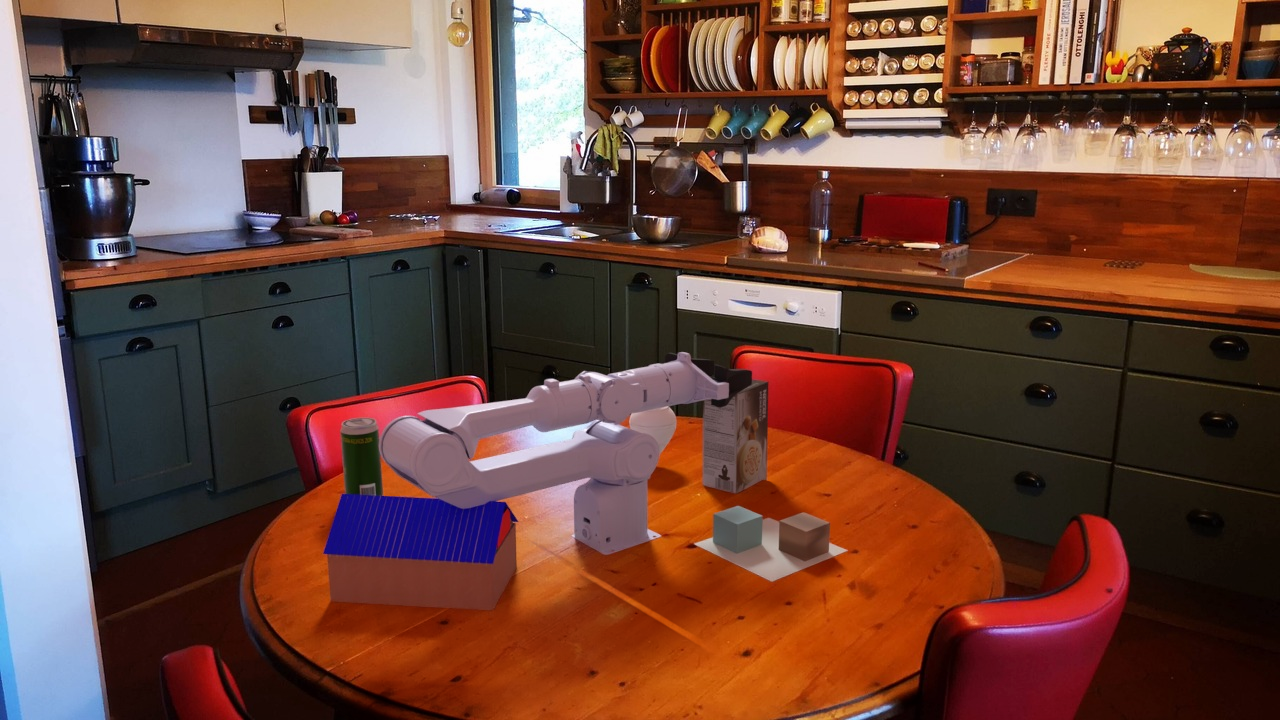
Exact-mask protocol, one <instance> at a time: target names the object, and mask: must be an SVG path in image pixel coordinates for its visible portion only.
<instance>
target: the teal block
mask: <svg viewBox="0 0 1280 720" xmlns="http://www.w3.org/2000/svg"><path fill="white" fill-rule="evenodd" d="M763 517H764V516H763V515H762V514H759V513H757V512H754V511H752V510H750V509H748V508H744V507H743V506H740V505H736V506H733V507H729V508H726V509H724V510H721V511H718V512H714V513H713V514H712V519H713V520H712V537H713V543H715V544H717V545H719V546H722V547H724V548H726V549H728V550H730V551H732V552H734V553H736V554H738V553H740V552H743V551H746V550H748V549H751V548H754V547H757V546H759V545H762V520H763V519H764V518H763Z"/></svg>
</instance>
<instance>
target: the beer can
mask: <svg viewBox="0 0 1280 720" xmlns="http://www.w3.org/2000/svg"><path fill="white" fill-rule="evenodd" d="M379 429H380V428H379V426H378V424H377V420H376V418H372V417H354V418H350V419H346V420H344V421H342V422H341V428H340V431H339V432H340V433H339V434H340V444H341V456H342V457H341V458H342V467H343V469H342V470H343V481H344V482H343V483H344V494H357V495H377V496H384V487H383V473H382V457H381V455H380V451H379V440H380V431H379Z"/></svg>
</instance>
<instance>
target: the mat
mask: <svg viewBox="0 0 1280 720" xmlns="http://www.w3.org/2000/svg"><path fill="white" fill-rule="evenodd" d="M693 545H695V546H697V547H698V548H700V549H702V550H705V551H707V552H709V553H710V554H711V553H712V554H713V555H715V556H717V557H719V558H721V559H723V560H725V561H727V562H730V563H732V564H734V565H736V566H738V567H740V568H741V569H744V570H746V571H748V572H749V573H752V574H754V575H757V576H759V577H760V578H763V579H765V580H766V581H769V582H771V583H774V582H775V581H778V580H779V579H783V578H785V577H788V576H790V575H792V574H795V573H797V572H799V571H802V570H804V569H806V568H809V567H811V566H812V567H813V566H815V565H817V564H819V563H822V562H824V561H826V560H829V559H831V558H834V557H837V556H840V555H841V554H844V553H846V552H848V551H849V550H848V549H847V548H846V549H845V548H844V547H840V546H838V545H836V544H833V543H832V542H829V552H827V553H825V554H822V555H820V556H817V557H815V558H813V559H810V560H808V561H803V560H800V559H798V558H796V557H794V556H791V555H789V554H787V553H785V552H782V551H780V550H779V520H776V519H773V518H771V517H767V518H763V520H762V545H759V546H757V547H754V548H751V549H748V550H746V551H743V552H740V553H738V554H736V553H734V552H732V551H730V550H728V549H726V548H724V547H722V546H719V545H717V544H715V543H713V536H712V537H710V538H707V539H703V540H701V541H700V540H699V541H698V542H694V543H693Z"/></svg>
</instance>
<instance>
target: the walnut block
mask: <svg viewBox="0 0 1280 720" xmlns="http://www.w3.org/2000/svg"><path fill="white" fill-rule="evenodd" d="M778 522H779V550H780V551H782V552H785V553H787V554H789V555H791V556H794V557H796V558H798V559H800V560H803V561H808V560H810V559H813V558H815V557H817V556H820V555H822V554H825V553H827V552H829V543H830V534H831V532H830V531H831V523H830V522H829V521H826V520H824V519H821V518H820V517H816V516H814V515H812V514H809V513H807V512H804V511H803V512H801V513H796V514H794V515H792V516H789V517H786V518H783V519H781V520H778Z"/></svg>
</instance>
